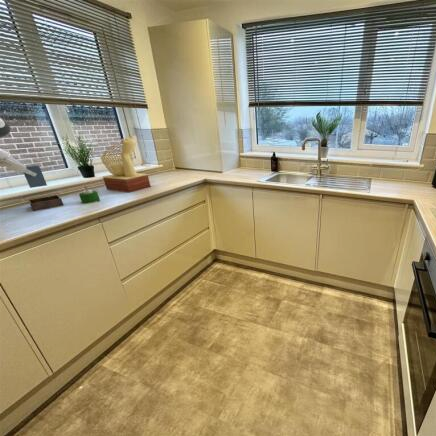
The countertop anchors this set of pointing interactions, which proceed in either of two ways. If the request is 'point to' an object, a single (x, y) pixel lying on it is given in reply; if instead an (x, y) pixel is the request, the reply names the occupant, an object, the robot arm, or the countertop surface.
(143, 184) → the cream sculpture
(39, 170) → the grey rectangular block
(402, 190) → the countertop surface
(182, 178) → the countertop surface
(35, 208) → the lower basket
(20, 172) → the robot arm
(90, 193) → the candle
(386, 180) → the countertop surface
